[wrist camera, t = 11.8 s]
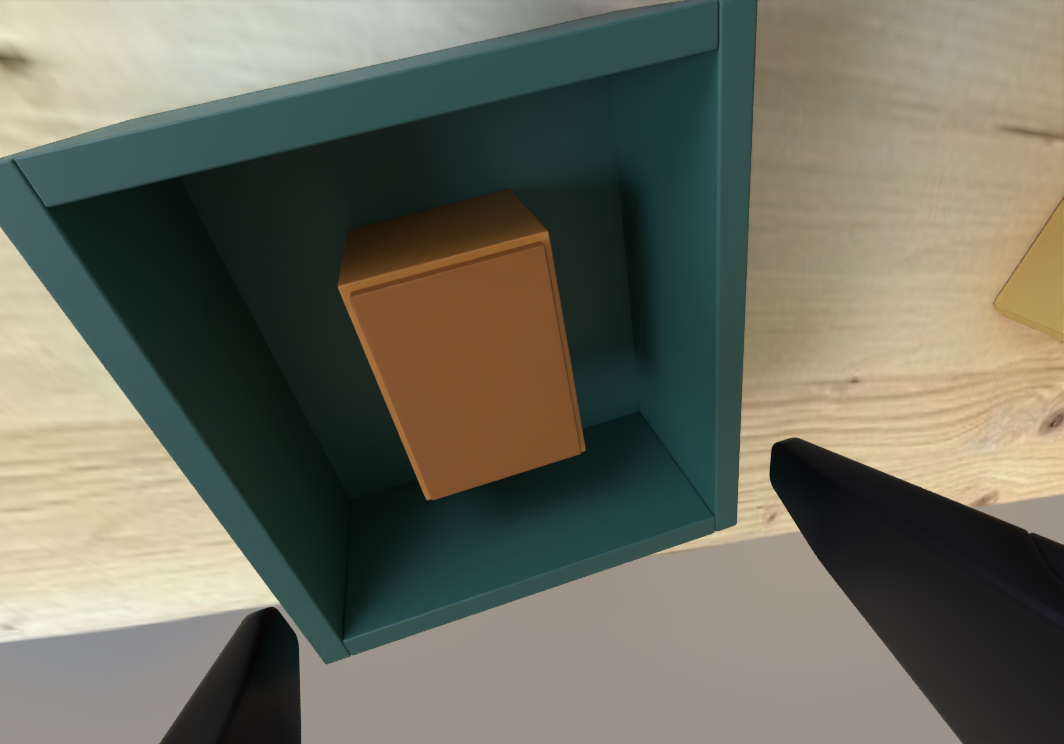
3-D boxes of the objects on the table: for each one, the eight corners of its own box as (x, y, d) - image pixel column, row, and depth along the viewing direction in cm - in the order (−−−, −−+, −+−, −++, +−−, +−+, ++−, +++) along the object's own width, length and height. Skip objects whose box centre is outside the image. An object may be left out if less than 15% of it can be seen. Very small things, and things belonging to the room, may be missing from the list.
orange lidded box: (509, 188, 16) (552, 233, 12) (547, 376, 20) (589, 457, 16) (346, 230, 16) (336, 291, 12) (417, 414, 20) (427, 508, 16)
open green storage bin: (619, 9, 15) (760, -11, 10) (650, 409, 23) (737, 525, 18) (126, 120, 14) (-44, 170, 8) (338, 505, 22) (325, 665, 16)
